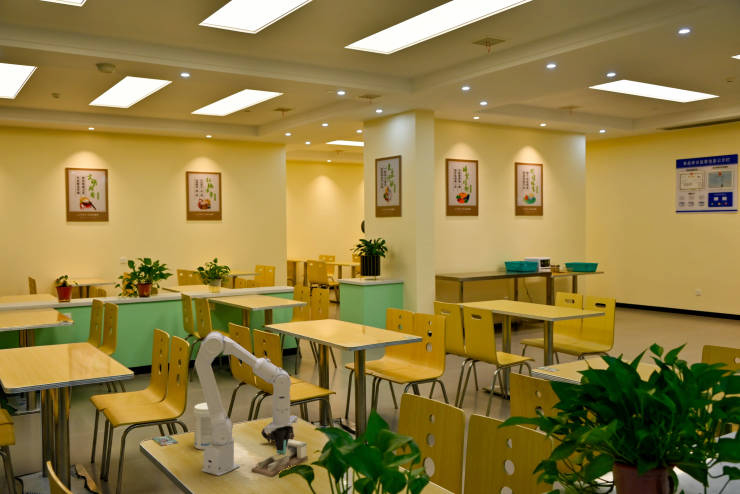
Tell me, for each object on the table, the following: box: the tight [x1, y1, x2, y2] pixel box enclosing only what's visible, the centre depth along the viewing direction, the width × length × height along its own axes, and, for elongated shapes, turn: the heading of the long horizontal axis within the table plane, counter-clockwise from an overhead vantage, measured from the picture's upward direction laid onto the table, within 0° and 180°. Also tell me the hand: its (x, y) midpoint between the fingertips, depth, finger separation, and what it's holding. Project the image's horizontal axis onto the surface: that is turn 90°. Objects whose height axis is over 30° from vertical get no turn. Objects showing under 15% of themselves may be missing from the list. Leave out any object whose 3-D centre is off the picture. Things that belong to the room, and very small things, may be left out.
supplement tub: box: [193, 402, 213, 451], centre depth 228 cm, size 10×10×15 cm
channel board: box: [251, 455, 309, 478], centre depth 210 cm, size 19×8×3 cm, turn 148°
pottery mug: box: [260, 427, 295, 443], centre depth 231 cm, size 12×9×8 cm
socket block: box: [286, 439, 308, 459], centre depth 217 cm, size 3×7×4 cm, turn 58°
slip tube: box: [270, 439, 297, 463], centre depth 213 cm, size 12×3×7 cm, turn 148°
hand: (281, 449), depth 210 cm, fingers closed
